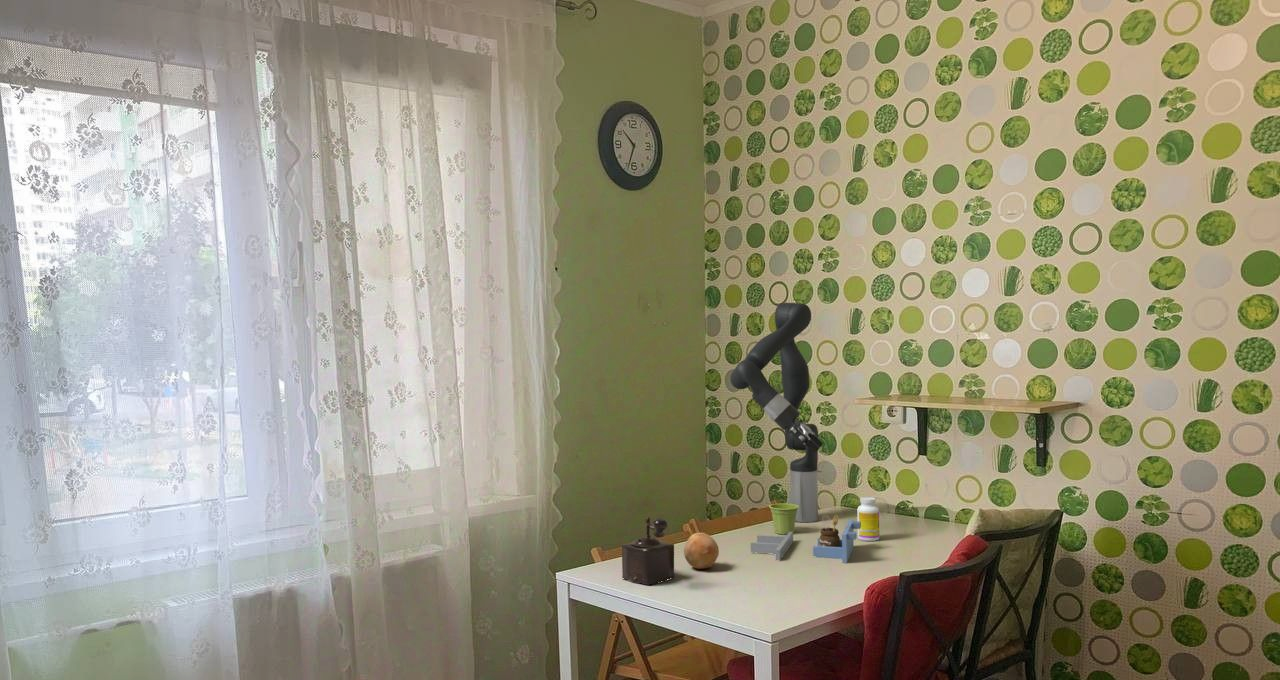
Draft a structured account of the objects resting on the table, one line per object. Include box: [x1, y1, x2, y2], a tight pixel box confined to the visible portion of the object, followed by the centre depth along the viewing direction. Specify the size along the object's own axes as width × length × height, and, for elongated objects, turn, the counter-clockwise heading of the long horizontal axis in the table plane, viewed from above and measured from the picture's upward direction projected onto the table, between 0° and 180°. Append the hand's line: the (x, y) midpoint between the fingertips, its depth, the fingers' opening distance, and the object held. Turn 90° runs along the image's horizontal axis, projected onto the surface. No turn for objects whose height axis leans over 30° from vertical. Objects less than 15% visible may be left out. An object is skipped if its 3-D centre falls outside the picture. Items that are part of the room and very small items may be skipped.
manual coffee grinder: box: [621, 516, 675, 586], centre depth 245 cm, size 16×11×18 cm
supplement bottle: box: [856, 496, 880, 542], centre depth 286 cm, size 7×7×13 cm
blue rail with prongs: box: [812, 519, 861, 564], centre depth 269 cm, size 12×20×8 cm, turn 162°
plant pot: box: [768, 503, 799, 535], centre depth 298 cm, size 9×9×9 cm
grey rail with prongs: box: [750, 532, 794, 561], centre depth 276 cm, size 10×24×3 cm, turn 161°
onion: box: [683, 532, 720, 570], centre depth 256 cm, size 10×10×10 cm
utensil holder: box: [819, 514, 841, 547], centre depth 270 cm, size 6×6×12 cm
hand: (819, 448), depth 285 cm, fingers open, 8 cm apart
